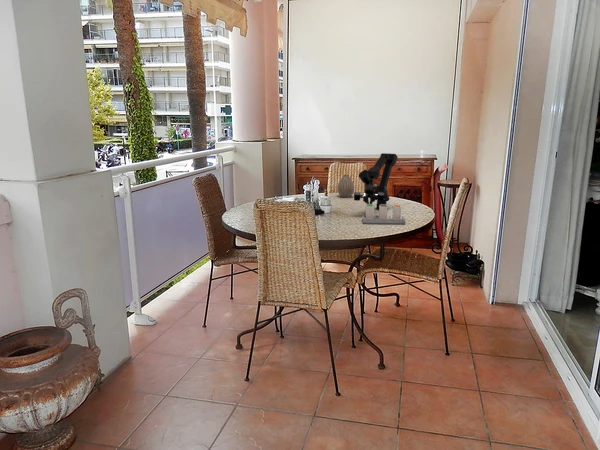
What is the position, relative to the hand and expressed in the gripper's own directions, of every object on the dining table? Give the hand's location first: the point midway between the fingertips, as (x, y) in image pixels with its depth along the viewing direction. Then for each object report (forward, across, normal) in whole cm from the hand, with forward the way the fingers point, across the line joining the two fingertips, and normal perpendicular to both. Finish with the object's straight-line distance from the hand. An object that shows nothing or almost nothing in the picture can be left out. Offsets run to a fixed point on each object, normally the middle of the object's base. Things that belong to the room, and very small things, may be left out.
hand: (369, 207), depth 268 cm
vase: (-47, -15, +57) cm, 76 cm away
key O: (+10, +16, 0) cm, 19 cm away
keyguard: (+11, +8, -3) cm, 14 cm away
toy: (0, -44, +11) cm, 46 cm away
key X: (+10, +8, 0) cm, 12 cm away
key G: (+10, 0, 0) cm, 10 cm away
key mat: (+11, +8, -2) cm, 14 cm away
